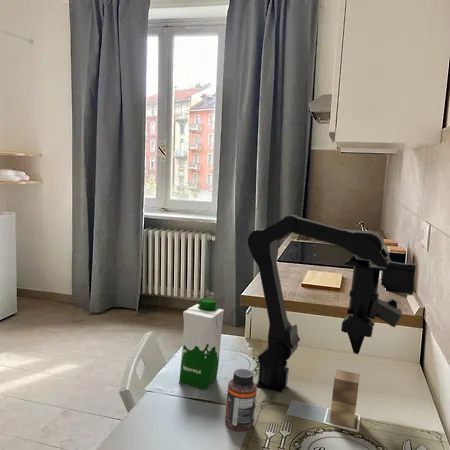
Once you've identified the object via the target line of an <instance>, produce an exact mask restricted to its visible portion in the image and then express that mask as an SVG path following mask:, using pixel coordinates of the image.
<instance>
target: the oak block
mask: <svg viewBox="0 0 450 450" xmlns="http://www.w3.org/2000/svg"><path fill="white" fill-rule="evenodd" d="M357 402H358V400H357V401H356V404H358V403H357ZM330 408H331V413H330V421H329V422H330V423H334V424H338V425H342V426H346V427H350V428H353V427H354V419H355V414H356V409H357V405H356V406H354V405H349V404H345V403H341V402H337V401H332V400H331V407H330Z"/></svg>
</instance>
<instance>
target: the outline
mask: <svg viewBox="0 0 450 450" xmlns="http://www.w3.org/2000/svg"><path fill="white" fill-rule="evenodd" d="M326 408H327V411H326V414H325V418H324V422H323V423H322V424H324V425H328V426H331V427H335V428H339V429H343V430H345V431H346V430H347V431H351V432H355V433H359V432H360V422H361V415H360V414H358V413H355V416H356V417H357V424H356V429H350V428H346V427H342V426H338V425H334V424H330V423H326V419H327V415H328V411H329V409H330V410H331V407H326Z"/></svg>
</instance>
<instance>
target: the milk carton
mask: <svg viewBox="0 0 450 450" xmlns="http://www.w3.org/2000/svg"><path fill="white" fill-rule="evenodd" d="M216 305H217V300H216V299H213V298H209V297H204V298H200V299H199V304H198V303H196V304H195V305H192V306H191V307H188V308H187V309H186V310H184V311H183V312H182V314H183V334H182V346H181V348H182V349H181V359H180V360H181V361H180V368H179V369H180V371H179V381H178V382H179V384H182V385H186V386H190V387H193V388H197V389H200V390H204V391H205V390H207V388H209V387H210V386H211V385H212V384H213V383H214V382H215V381H216V380H217V377H218V372H219V371H218V370H219V363H220V355H221V354H220V352H221V340H222V331H223V330H222V329H223V320H224V312H225V309H224V308H223V309H222V308H219V307H217V306H216Z"/></svg>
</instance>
